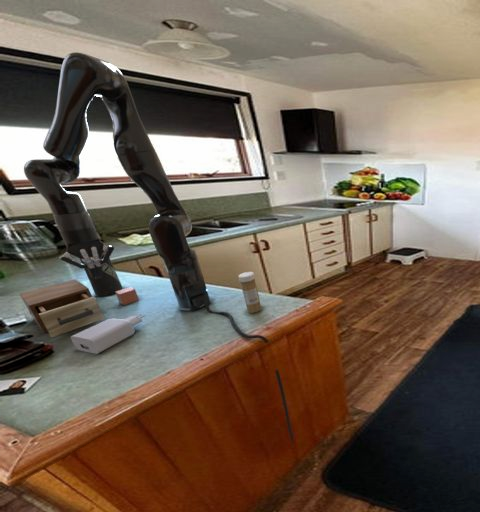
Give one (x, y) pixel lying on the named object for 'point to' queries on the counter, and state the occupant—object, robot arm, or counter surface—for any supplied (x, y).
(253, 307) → the sprinkles bottle
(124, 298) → the block
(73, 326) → the drawer
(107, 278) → the container
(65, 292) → the cabinet
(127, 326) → the charger
